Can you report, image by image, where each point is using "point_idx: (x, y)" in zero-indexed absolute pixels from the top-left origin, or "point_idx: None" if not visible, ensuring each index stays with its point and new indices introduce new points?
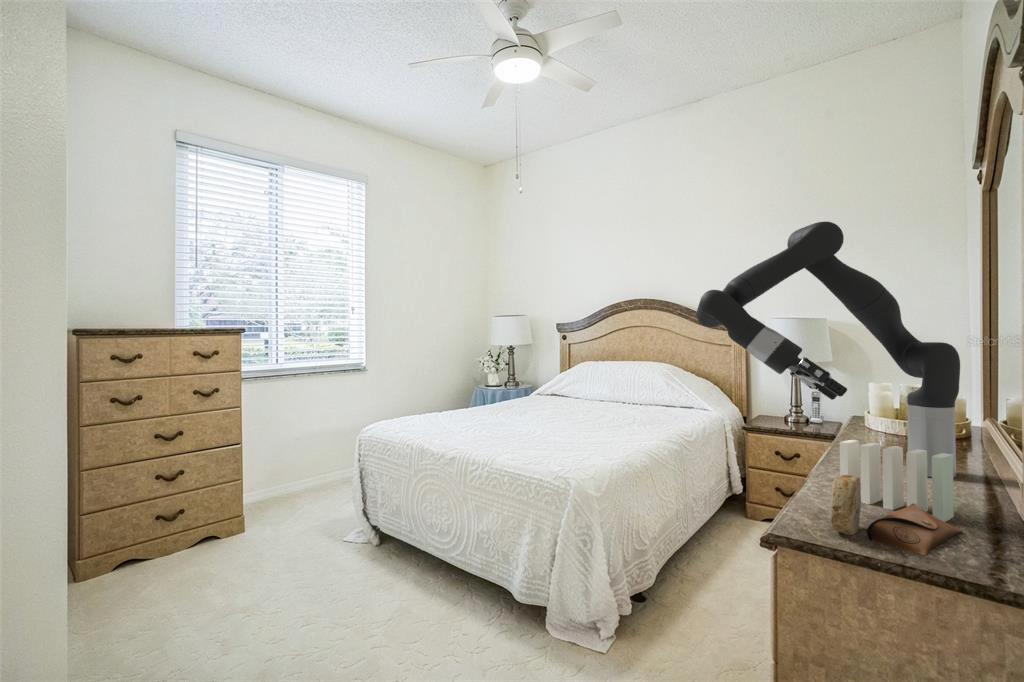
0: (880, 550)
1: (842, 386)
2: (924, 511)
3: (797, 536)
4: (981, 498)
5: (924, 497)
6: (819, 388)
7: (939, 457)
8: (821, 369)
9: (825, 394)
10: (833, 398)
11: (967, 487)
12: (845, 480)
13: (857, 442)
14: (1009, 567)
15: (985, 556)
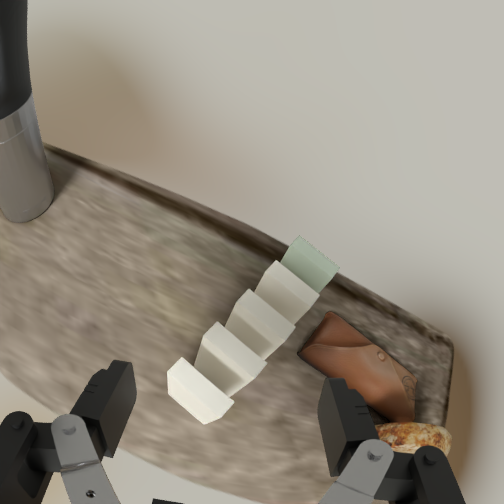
0: (422, 419)
1: (349, 394)
2: (327, 338)
3: None
4: (154, 206)
5: None
6: (111, 450)
7: (337, 270)
8: (453, 487)
9: (124, 424)
10: (136, 393)
11: (98, 193)
12: (448, 442)
13: (188, 364)
14: (411, 317)
15: (395, 324)
